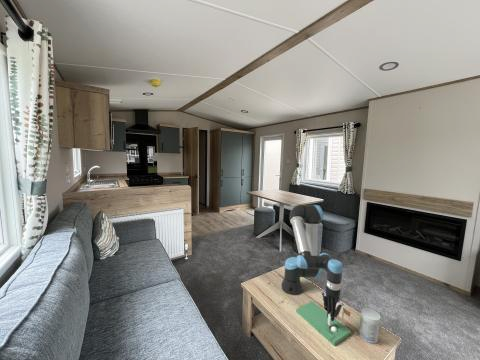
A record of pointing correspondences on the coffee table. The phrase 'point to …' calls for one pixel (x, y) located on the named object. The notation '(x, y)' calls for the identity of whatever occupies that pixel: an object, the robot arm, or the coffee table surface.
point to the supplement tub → (370, 325)
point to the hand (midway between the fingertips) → (330, 323)
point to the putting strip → (324, 322)
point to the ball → (333, 329)
